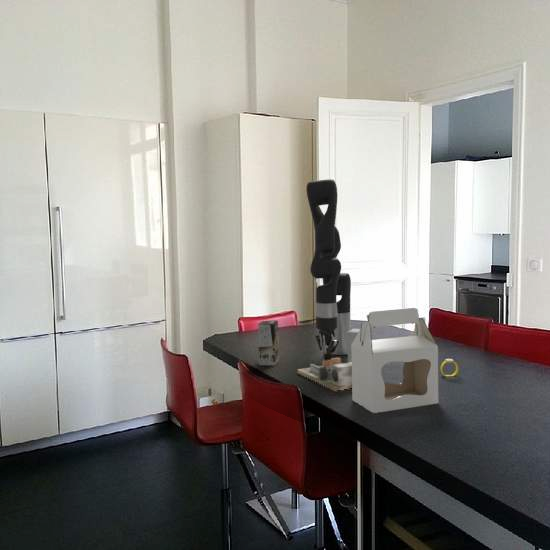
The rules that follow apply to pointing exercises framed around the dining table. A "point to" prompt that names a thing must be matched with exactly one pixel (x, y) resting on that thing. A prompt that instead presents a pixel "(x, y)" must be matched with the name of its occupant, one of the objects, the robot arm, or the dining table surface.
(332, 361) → the gauge plunger
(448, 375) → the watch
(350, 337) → the supplement box
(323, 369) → the gauge marker
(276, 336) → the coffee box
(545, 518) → the dining table surface
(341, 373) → the gauge frame
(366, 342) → the gable box
